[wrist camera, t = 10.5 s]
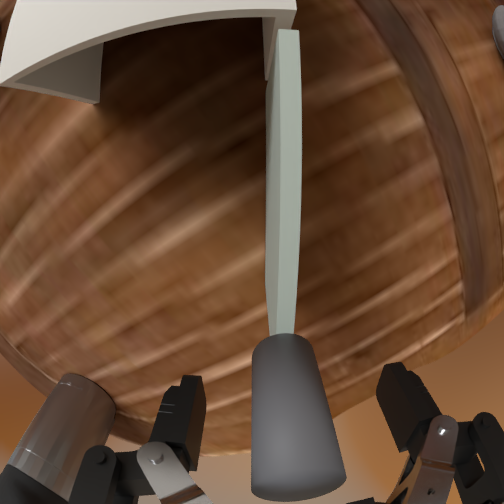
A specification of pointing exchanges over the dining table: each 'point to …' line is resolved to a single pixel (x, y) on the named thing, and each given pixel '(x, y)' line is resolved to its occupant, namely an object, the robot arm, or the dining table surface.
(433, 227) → the dining table surface
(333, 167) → the dining table surface
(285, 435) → the side flap
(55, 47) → the carton
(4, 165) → the dining table surface
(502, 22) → the coffee pot
